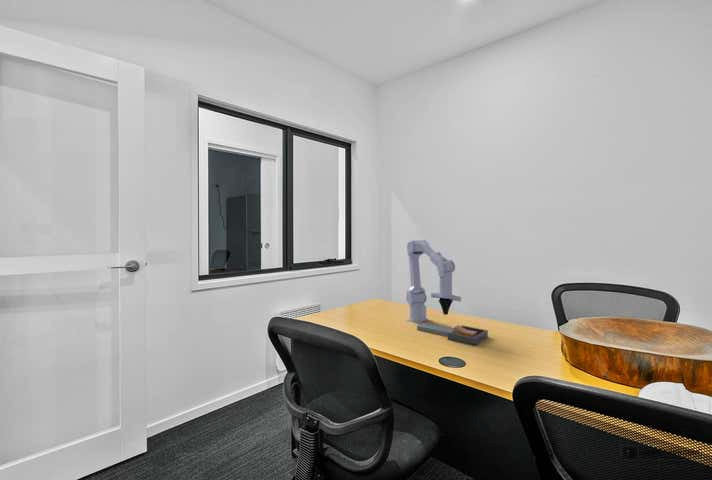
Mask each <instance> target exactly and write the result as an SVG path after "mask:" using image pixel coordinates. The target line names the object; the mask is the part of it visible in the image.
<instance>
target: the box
mask: <svg viewBox="0 0 712 480" xmlns="http://www.w3.org/2000/svg"><path fill="white" fill-rule="evenodd" d="M460 326H461V327H463V328H465V329H467V330H470V331H475V332H477V336H476V337H474V338H473V337H468V336H463V335H459V334H454V333H450V332H449V333H448V337H447V340H449V341H452V342H457V343H460V344H461V343H462V344H466V345H471V346H477V345H478V344H480V343H481V342H482V341H484V340H486V339H487V338H488V337H489V330H488V329H483V328H477V327H472V326H467V325H460Z"/></svg>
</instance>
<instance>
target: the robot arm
mask: <svg viewBox="0 0 712 480" xmlns="http://www.w3.org/2000/svg"><path fill="white" fill-rule="evenodd" d="M406 249H407V250H406V251H407V256H408V262H409V275H410V277H409V278H410V287H409V288H408V289H407V290H406V299H405V300H406V302H407V303H408V305H409V318H408V319H406V321H407V322H412V323H415V324H422V323H424V322H426V321H427V320H428V318H427V306H426V305H425V303H427V300H428V299H427V298H428V297H427V294H426V289H425V288H423V287H422V283H421V272H420V270H421V269H420V259H419V258H420V257H421V256H422V255H424V254H425V255H426V256H427V257H429V259H430V262H431V263H432V264H433V265H434V266H435V267H436V270H437V272H438V277H439V293H437V292H432V293H430V298H436V299H438V303H439V305H440V306H441V309H442V313H443V316H446V315H448V314H449V310H450V308H451V305H452V303H453V301H454V302H456V301H457V302H459V303H460V302H462V296H458V295H454V294H453V273H454V272H455V270H456V264H455V263H454V261H453V260H451V259H447V258H446V257H445V256H444V255H442V254H441V252H440V251H439V252H438V251H435V250H434V249H432V247H431V246H430V244H429V242H428V241H427V240H426V239H423V240H422V239H421V240H409V241H408V243H407V244H406Z"/></svg>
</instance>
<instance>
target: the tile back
mask: <svg viewBox="0 0 712 480" xmlns="http://www.w3.org/2000/svg"><path fill="white" fill-rule="evenodd" d="M453 328H454V329H453V332H454V333H455V334H459V335H463V332H464V331H466V330H467V329H465V328H463V327H461V325H456V326H453Z"/></svg>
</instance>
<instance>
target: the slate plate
mask: <svg viewBox="0 0 712 480" xmlns="http://www.w3.org/2000/svg"><path fill="white" fill-rule="evenodd" d="M453 329H454V327H451V326H445V325H440V324H435V323H431V322H426V321H423V322H421V323H419V324H418V325H417V326H416V330H417V331H421V332H424V333H431V334H433V335H434V334H435V335H438V336H442V337H443V336H444V337H447V338H448V333H449V332H450V333H454V332H453ZM454 334H455V333H454Z"/></svg>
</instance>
